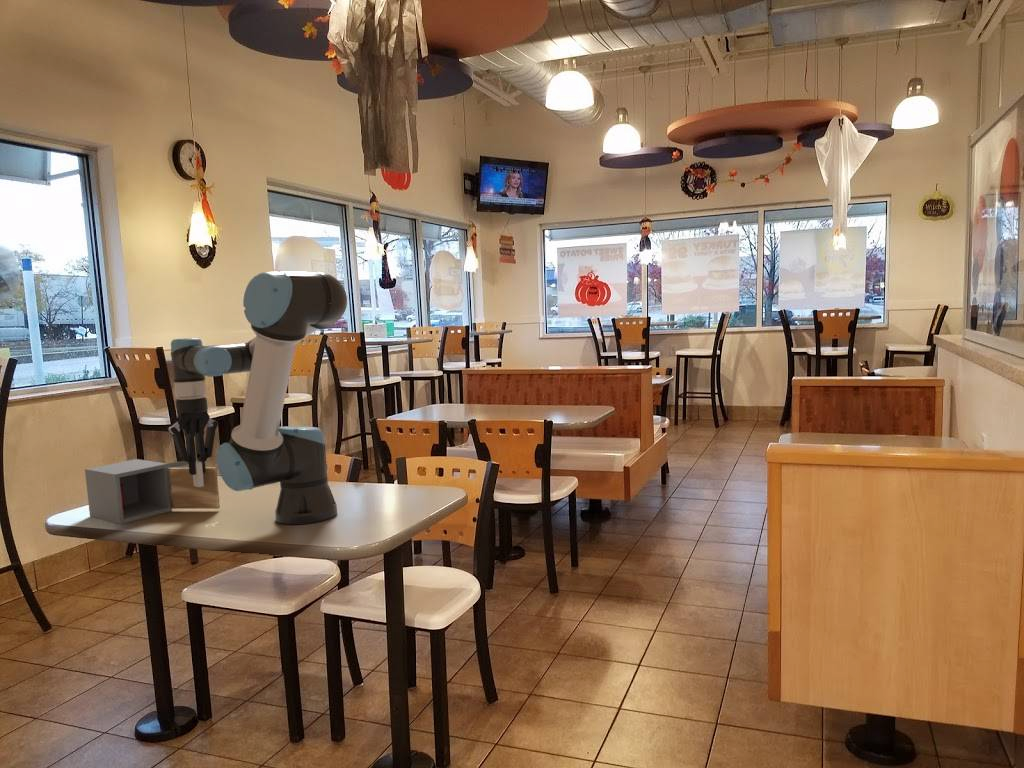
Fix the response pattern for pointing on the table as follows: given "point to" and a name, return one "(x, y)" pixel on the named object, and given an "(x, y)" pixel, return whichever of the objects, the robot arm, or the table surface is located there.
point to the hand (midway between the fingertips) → (198, 485)
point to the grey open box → (128, 490)
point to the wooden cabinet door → (193, 489)
